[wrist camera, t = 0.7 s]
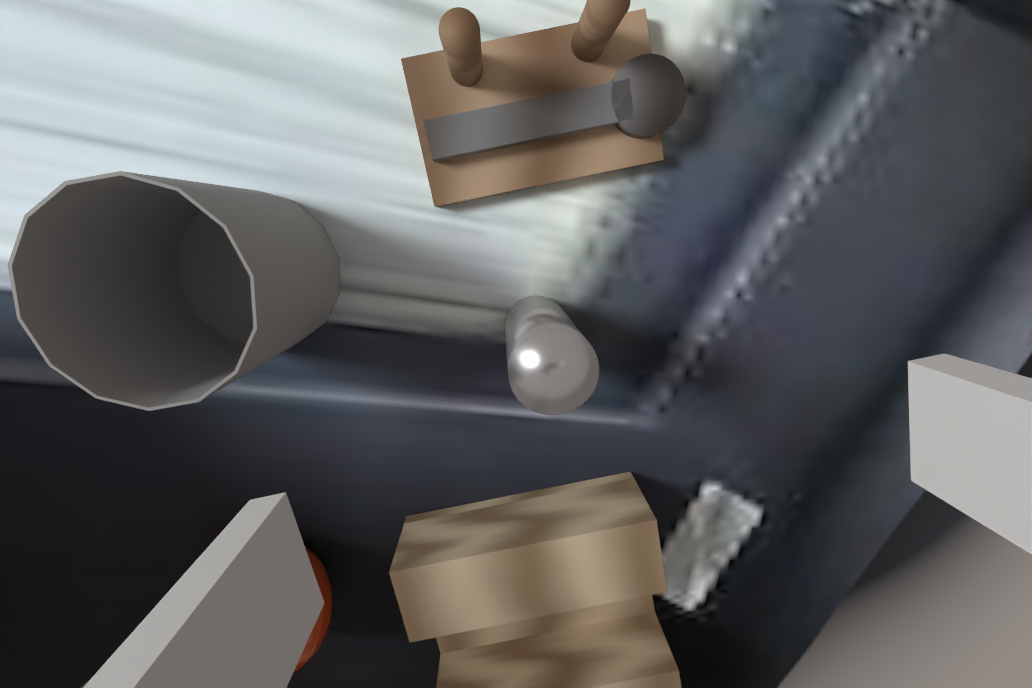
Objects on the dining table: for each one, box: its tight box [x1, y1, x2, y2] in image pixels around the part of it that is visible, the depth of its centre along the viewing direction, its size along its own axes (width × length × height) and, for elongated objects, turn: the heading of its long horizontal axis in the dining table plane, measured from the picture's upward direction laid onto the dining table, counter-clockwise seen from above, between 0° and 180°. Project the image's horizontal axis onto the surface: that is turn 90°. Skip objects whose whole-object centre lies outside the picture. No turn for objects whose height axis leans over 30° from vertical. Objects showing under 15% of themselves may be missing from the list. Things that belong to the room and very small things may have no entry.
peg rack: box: [401, 0, 686, 207], centre depth 23 cm, size 13×7×6 cm, turn 101°
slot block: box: [389, 472, 681, 688], centre depth 30 cm, size 14×14×5 cm
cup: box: [8, 171, 340, 411], centre depth 23 cm, size 8×8×10 cm
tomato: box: [293, 546, 332, 673], centre depth 28 cm, size 7×7×8 cm
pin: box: [504, 296, 599, 415], centre depth 24 cm, size 4×4×9 cm
